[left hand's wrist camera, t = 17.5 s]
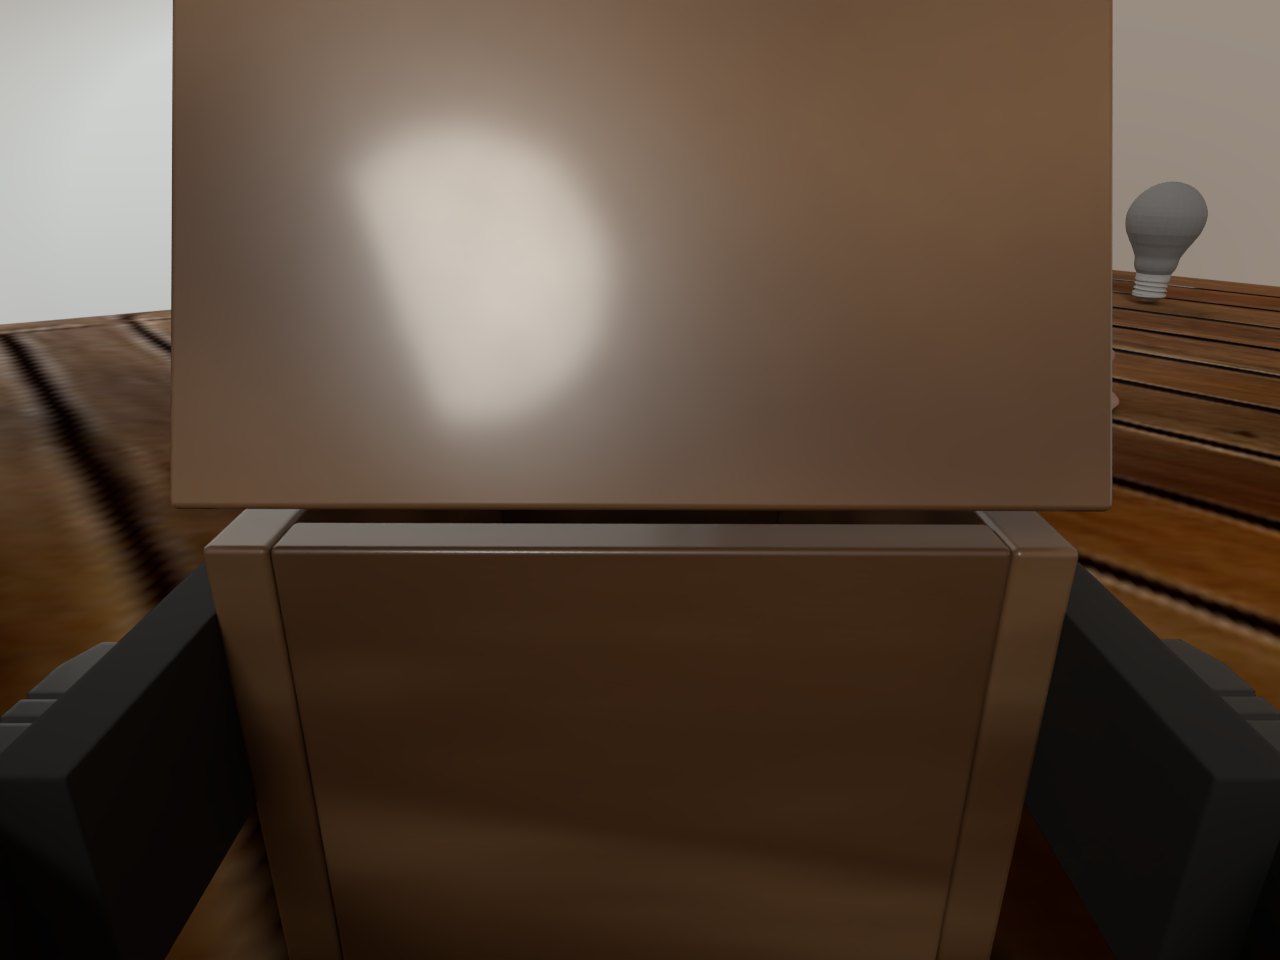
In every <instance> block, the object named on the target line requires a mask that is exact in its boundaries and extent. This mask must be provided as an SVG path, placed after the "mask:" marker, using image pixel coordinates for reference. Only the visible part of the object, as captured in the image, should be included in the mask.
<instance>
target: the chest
mask: <svg viewBox="0 0 1280 960" xmlns="http://www.w3.org/2000/svg"><path fill="white" fill-rule="evenodd" d="M203 555H204V560H205V564H206V569H207V574H208V578H209V583H210V588H211V593H212V597H213V602H214V607H215V611H216V616H217V621H218V625H219V630H220V635H221V639H222V644H223V649H224V653H225V658H226V663H227V667H228V672H229V676H230V681H231V686H232V690H233V695H234V700H235V704H236V709H237V714H238V718H239V723H240V728H241V732H242V737H243V742H244V746H245V751H246V756H247V760H248V765H249V770H250V774H251V779H252V783H253V788H254V793H255V797H256V805H257V809H258V814H259V819H260V823H261V828H262V833H263V838H264V842H265V847H266V852H267V856H268V861H269V866H270V871H271V875H272V880H273V885H274V889H275V894H276V899H277V904H278V908H279V913H280V918H281V922H282V927H283V932H284V937H285V941H286V946H287V951H288V955H289V960H990V955H991V951H992V946H993V942H994V937H995V933H996V928H997V924H998V919H999V915H1000V910H1001V905H1002V901H1003V896H1004V892H1005V887H1006V883H1007V878H1008V874H1009V869H1010V865H1011V860H1012V855H1013V851H1014V846H1015V842H1016V837H1017V833H1018V828H1019V824H1020V819H1021V815H1022V810H1023V805H1024V801H1025V796H1026V792H1027V787H1028V783H1029V778H1030V773H1031V769H1032V764H1033V760H1034V755H1035V750H1036V746H1037V741H1038V737H1039V732H1040V727H1041V723H1042V718H1043V713H1044V709H1045V704H1046V700H1047V695H1048V690H1049V686H1050V681H1051V677H1052V672H1053V667H1054V663H1055V658H1056V654H1057V649H1058V644H1059V640H1060V635H1061V631H1062V626H1063V621H1064V617H1065V613H1066V610H1067V605H1068V601H1069V596H1070V592H1071V587H1072V583H1073V578H1074V574H1075V569H1076V565H1077V560H1078V553H1077V550H1076V548H1075V547H1073V546H1072V545H1071V544H1070V543H1069V542H1068V541H1067V540H1066V539H1065V538H1064V537H1063V536H1062V535H1061V534H1060V533H1059V532H1057V531H1056V530H1055V529H1054V528H1053V527H1052V526H1051V525H1050V524H1049V523H1048V522H1047V521H1046V520H1045V519H1044V518H1043V517H1041V516H1040V515H1039V514H1038V513H1037V512H1036V511H774V510H419V509H245V510H244V511H243V512H242V513H241V514H240V515H239V516H238V517H236V518H235V519H234V520H233V521H232V522H231V523H230V524H229V525H228V526H227V527H226V528H225V529H224V530H223V531H222V532H220V533H219V534H218V535H217V536H216V537H215V538H214V539H213V540H212V541H211V542H210V543H209V544H208V545H207V546H205V548H204V554H203Z"/></svg>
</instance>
